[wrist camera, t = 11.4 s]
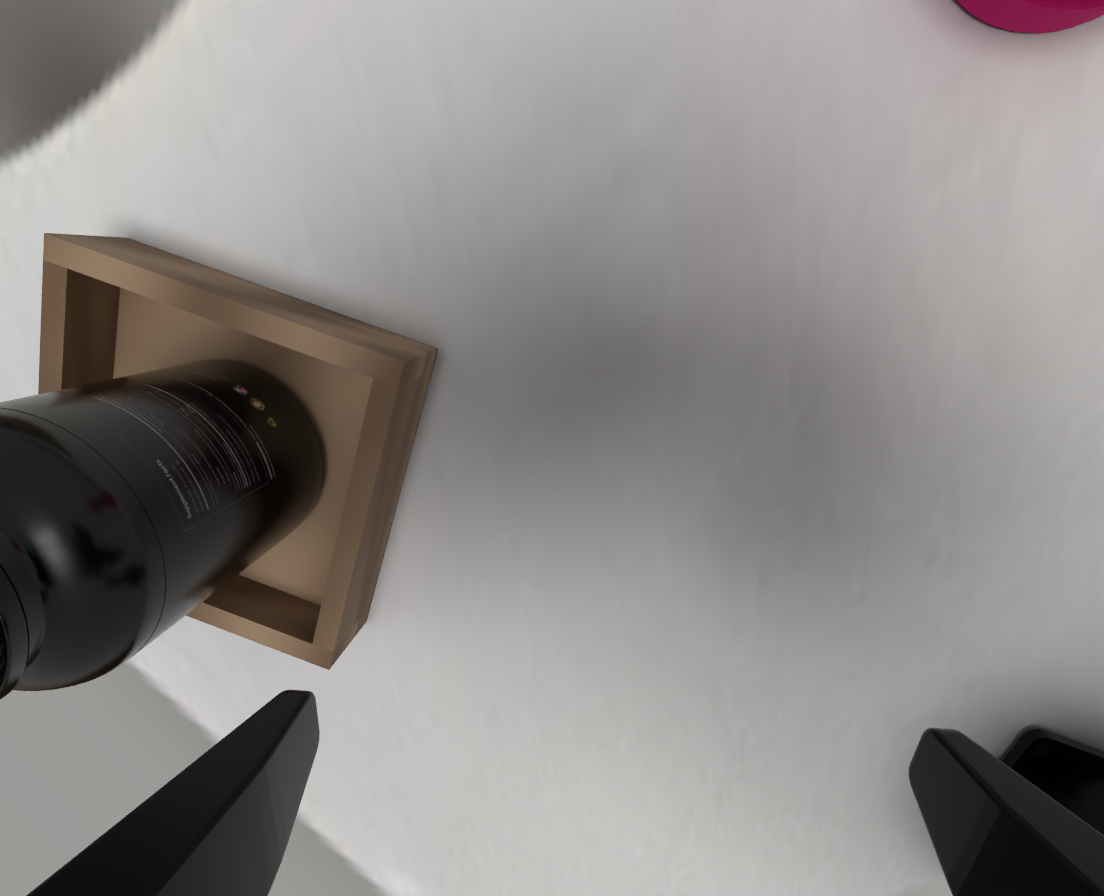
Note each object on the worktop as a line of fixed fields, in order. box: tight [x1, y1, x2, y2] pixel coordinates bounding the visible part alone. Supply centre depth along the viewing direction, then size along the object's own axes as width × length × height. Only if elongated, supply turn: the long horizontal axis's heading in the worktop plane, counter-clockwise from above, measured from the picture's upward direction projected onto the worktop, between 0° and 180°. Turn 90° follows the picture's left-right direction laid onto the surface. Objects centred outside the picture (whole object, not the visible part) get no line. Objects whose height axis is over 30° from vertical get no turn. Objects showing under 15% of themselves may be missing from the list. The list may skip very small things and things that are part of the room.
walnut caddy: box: [38, 233, 437, 670], centre depth 21 cm, size 12×12×3 cm
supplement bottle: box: [0, 360, 323, 699], centre depth 16 cm, size 7×7×12 cm
